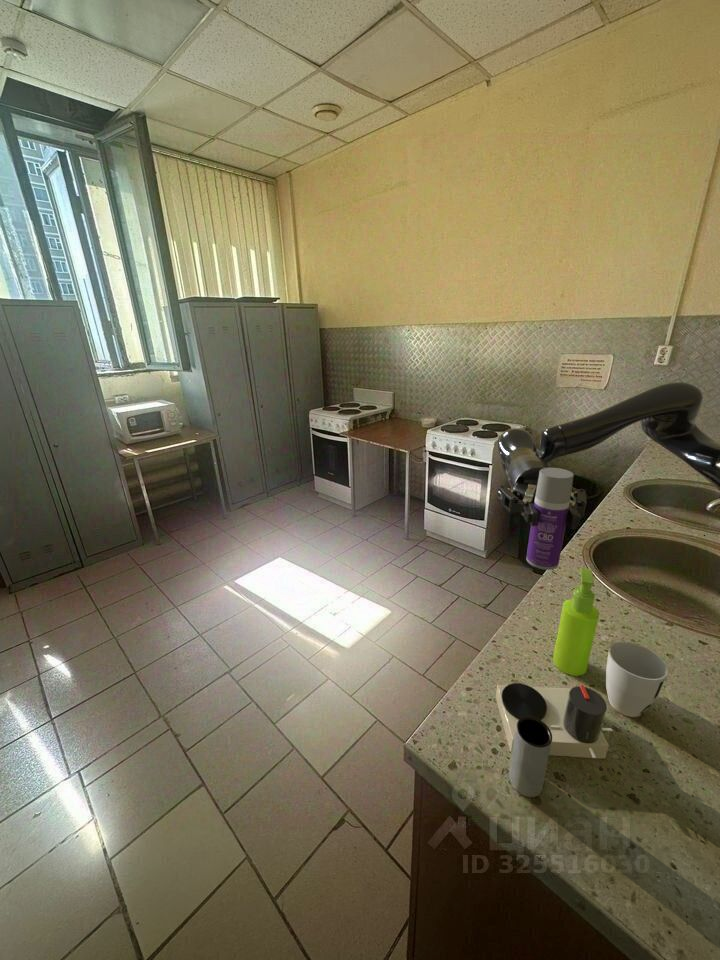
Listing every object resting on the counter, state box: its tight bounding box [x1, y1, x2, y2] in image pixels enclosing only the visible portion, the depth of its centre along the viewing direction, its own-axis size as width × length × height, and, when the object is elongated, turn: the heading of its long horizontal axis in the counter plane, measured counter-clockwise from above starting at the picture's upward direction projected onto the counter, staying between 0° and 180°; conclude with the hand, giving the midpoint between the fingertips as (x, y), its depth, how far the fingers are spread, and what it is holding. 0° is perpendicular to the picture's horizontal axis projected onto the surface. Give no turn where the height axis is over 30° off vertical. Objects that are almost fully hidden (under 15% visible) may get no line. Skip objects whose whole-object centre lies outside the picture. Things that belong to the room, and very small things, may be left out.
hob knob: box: [563, 684, 608, 744], centre depth 60 cm, size 5×5×6 cm
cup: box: [605, 641, 669, 718], centre depth 67 cm, size 8×8×10 cm
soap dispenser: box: [552, 566, 600, 677], centre depth 74 cm, size 6×7×20 cm
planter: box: [508, 716, 552, 798], centre depth 56 cm, size 4×4×10 cm
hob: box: [495, 684, 613, 760], centre depth 64 cm, size 16×12×3 cm
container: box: [525, 467, 575, 571], centre depth 59 cm, size 5×5×15 cm
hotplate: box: [502, 682, 547, 720], centre depth 66 cm, size 7×7×1 cm
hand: (554, 521), depth 57 cm, fingers closed on container, 4 cm apart
